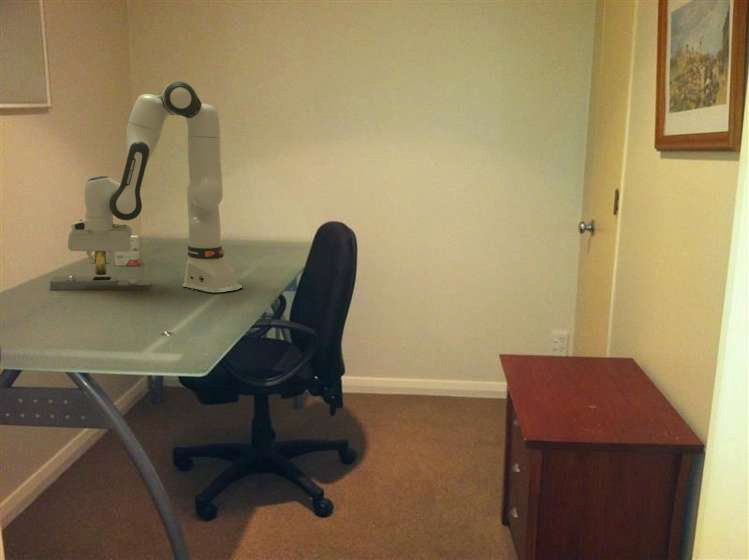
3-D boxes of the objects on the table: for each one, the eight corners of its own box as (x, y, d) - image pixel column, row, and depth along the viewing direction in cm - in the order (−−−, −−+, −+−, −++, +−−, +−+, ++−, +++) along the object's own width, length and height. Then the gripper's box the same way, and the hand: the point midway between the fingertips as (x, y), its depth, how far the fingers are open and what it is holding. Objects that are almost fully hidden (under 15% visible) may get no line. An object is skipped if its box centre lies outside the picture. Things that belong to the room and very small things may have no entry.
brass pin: (108, 274, 242) (108, 251, 240) (98, 275, 239) (98, 252, 238) (103, 272, 244) (102, 249, 243) (93, 273, 242) (92, 250, 240)
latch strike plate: (151, 283, 251) (150, 272, 250) (149, 289, 243) (149, 277, 242) (54, 284, 243) (54, 273, 242) (50, 290, 235) (49, 278, 234)
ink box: (140, 263, 283) (139, 235, 280) (137, 266, 278) (136, 237, 276) (118, 263, 282) (117, 234, 279) (114, 265, 277) (113, 236, 275)
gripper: (132, 223, 244) (133, 262, 247) (69, 222, 239) (70, 261, 242) (130, 226, 238) (131, 265, 241) (66, 224, 233) (67, 265, 236)
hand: (100, 263), depth 241 cm, fingers closed on brass pin, 4 cm apart
